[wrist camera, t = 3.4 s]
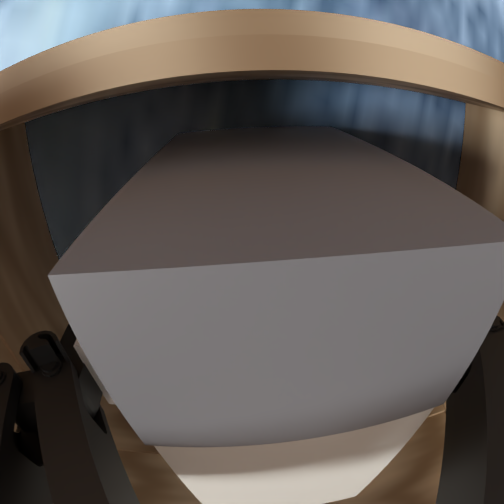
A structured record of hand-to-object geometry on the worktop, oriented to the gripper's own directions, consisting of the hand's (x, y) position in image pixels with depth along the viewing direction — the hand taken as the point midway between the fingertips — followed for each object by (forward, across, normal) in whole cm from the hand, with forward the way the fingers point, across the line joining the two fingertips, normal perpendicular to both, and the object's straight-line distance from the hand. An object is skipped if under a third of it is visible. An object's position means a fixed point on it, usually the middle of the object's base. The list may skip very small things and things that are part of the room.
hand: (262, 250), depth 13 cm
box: (+1, 0, +1) cm, 2 cm away
